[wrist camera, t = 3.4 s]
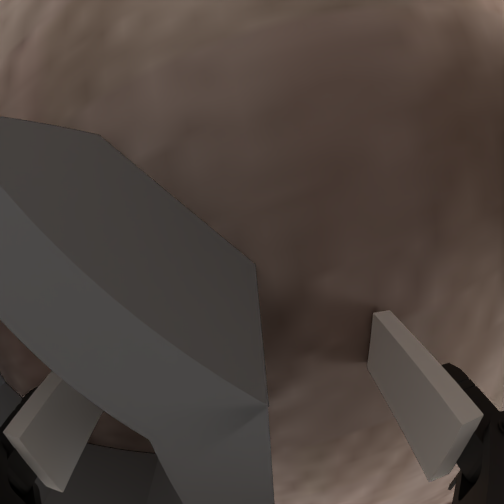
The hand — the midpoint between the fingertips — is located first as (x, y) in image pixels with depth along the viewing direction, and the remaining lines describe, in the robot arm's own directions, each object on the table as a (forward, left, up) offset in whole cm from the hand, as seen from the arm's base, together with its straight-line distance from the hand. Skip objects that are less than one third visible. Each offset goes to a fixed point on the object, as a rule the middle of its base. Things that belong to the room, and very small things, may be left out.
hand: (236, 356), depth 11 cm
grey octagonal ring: (+6, -6, 0) cm, 8 cm away
